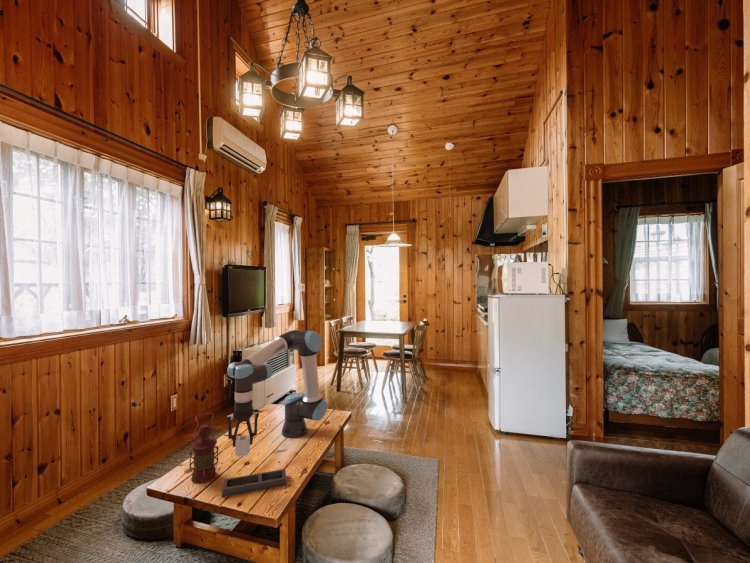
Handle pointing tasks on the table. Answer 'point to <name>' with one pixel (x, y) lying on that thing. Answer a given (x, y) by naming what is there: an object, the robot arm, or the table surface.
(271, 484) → the dark grey divided frame
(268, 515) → the table surface
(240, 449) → the block
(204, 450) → the lantern
